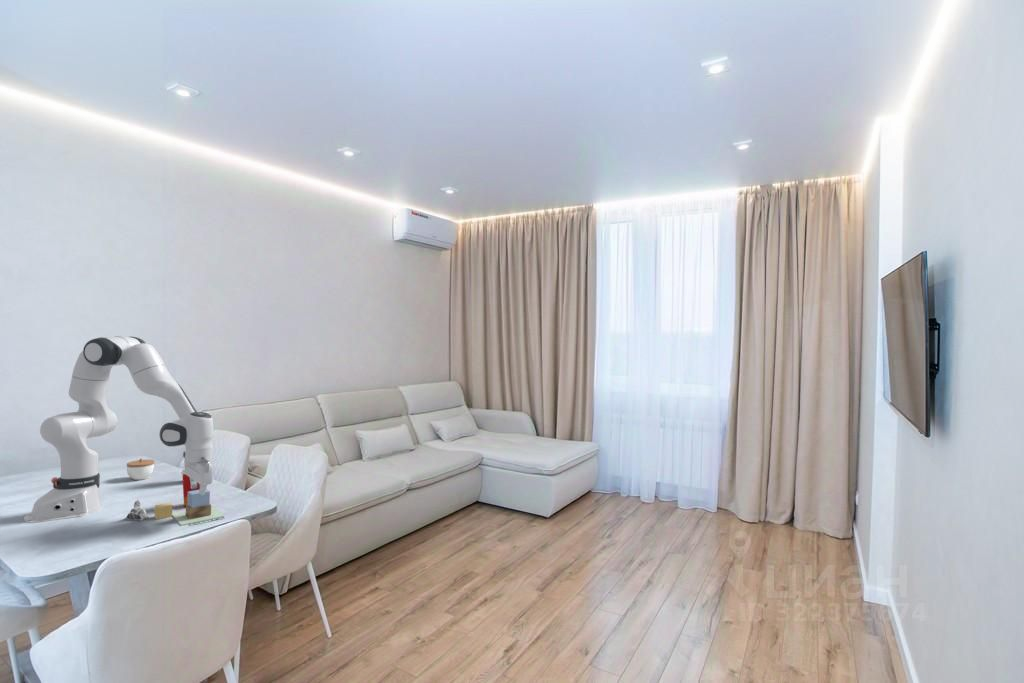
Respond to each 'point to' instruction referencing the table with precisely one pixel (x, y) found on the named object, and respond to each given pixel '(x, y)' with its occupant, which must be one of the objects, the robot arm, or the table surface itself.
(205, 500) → the slate brick
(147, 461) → the lidded jar
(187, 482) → the coffee cup
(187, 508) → the base brick
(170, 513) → the ochre brick
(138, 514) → the grey lumpy mound
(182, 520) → the sage board
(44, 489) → the table surface
